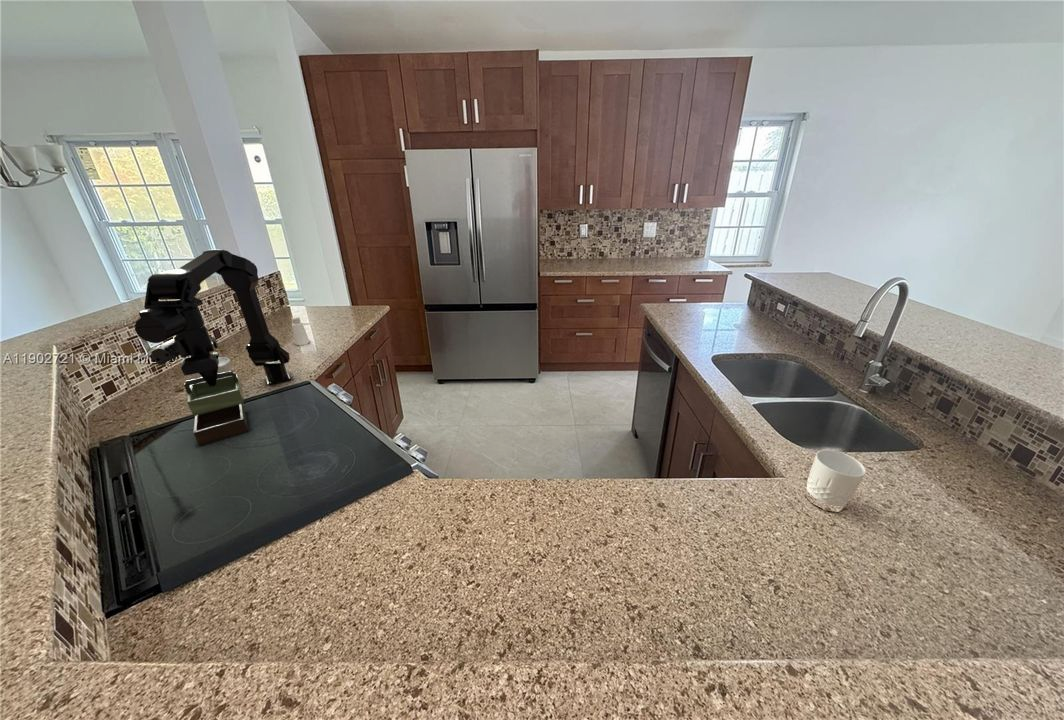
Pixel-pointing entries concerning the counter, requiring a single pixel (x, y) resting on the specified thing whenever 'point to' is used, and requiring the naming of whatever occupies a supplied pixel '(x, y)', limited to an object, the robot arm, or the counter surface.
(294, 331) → the pepper shaker
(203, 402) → the top basket
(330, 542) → the counter surface
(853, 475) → the white cup
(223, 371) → the ramekin
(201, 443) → the bottom basket
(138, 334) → the robot arm
